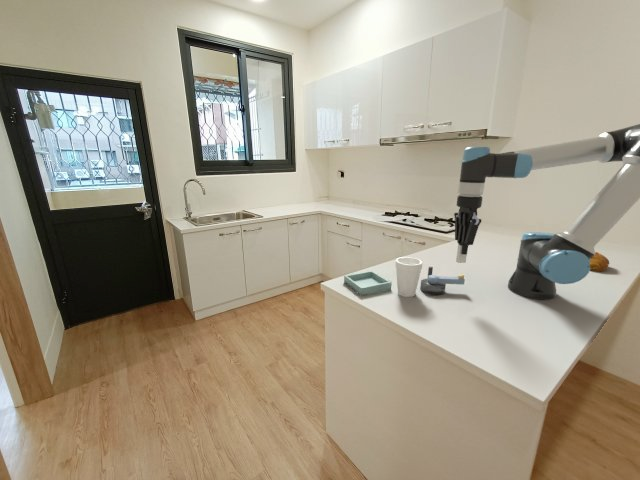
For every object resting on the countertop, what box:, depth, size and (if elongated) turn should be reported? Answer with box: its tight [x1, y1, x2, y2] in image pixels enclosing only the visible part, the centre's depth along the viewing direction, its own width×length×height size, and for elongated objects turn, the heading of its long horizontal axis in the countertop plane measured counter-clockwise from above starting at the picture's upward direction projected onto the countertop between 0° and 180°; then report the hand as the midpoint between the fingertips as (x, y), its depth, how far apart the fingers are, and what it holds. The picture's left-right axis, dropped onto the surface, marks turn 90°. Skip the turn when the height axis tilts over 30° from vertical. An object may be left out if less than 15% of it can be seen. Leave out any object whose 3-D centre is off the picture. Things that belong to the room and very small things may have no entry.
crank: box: [427, 273, 466, 285], centre depth 113 cm, size 13×4×3 cm, turn 84°
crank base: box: [420, 266, 447, 296], centre depth 115 cm, size 12×10×6 cm
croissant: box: [589, 251, 610, 272], centre depth 140 cm, size 14×16×8 cm
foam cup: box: [395, 256, 423, 298], centre depth 111 cm, size 10×9×13 cm
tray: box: [343, 270, 392, 297], centre depth 119 cm, size 14×14×3 cm
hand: (460, 261), depth 105 cm, fingers closed
